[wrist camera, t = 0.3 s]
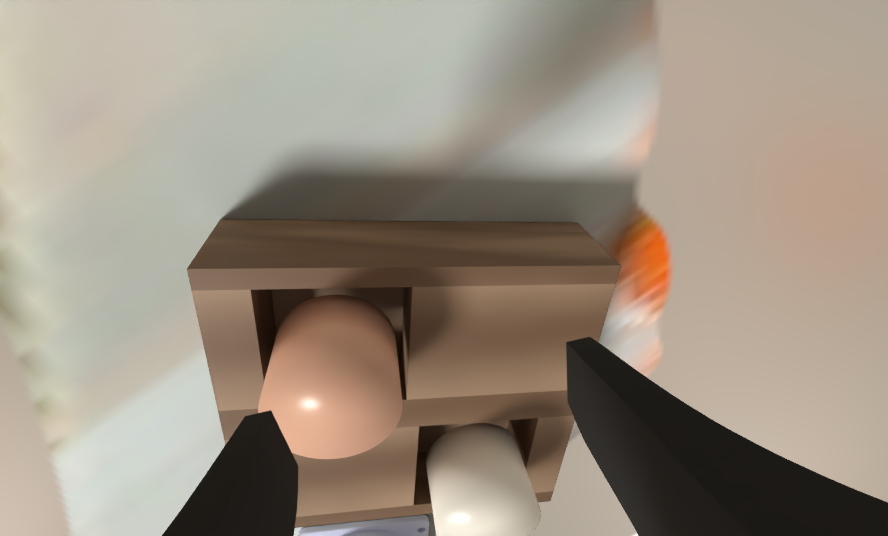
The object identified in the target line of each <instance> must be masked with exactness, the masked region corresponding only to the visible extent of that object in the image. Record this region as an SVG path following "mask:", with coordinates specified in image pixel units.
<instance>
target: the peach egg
mask: <svg viewBox="0 0 888 536" xmlns="http://www.w3.org/2000/svg"><path fill="white" fill-rule="evenodd" d="M402 408H403V406H402V394H401V384H400V375H399V366H398V357H397V347H396V338H395V332H394V329H393V326H392V324H391V322H390V320H389V319H388V317H387V316H386V315H385V314H384V313H383V312H382V311H381V310H380V309H379V308H378V307H376V306H375V305H373V304H372V303H370V302H368V301H366V300H363V299H361V298H358V297H354V296H349V295H337V294H334V295H324V296H319V297H315V298H312V299H309V300H307V301H305V302H303V303H301V304H299V305H298V306H296V307H295V308H294V309H292V310H291V311H290V312H289V313H288V314H287V315H286V316H285V318H284V319H283V320H282V322H281V324H280V326H279V328H278V331H277V334H276V338H275V342H274V346H273V350H272V354H271V358H270V361H269V365H268V369H267V373H266V377H265V381H264V385H263V388H262V392H261V396H260V400H259V405H258V413H261V412H265V411H270V410H271V411H272V413H273V415H274V417H275V419H276V421H277V423H278V425H279V427H280V430H281V432H282V434H283V436H284V438H285V440H286V442H287V444H288V446H289V448H290V450H291V452H292V453H294V454H297V455H300V456H304V457H308V458H315V459H338V458H345V457H350V456H354V455H357V454H360V453H363V452H365V451H368V450H370V449H372V448H373V447H375V446H377V445H378V444H380V443H381V442H383V441H384V440H385V439H386V438H387V437H388V436H389V435H390V434H391V433H392V432H393V431H394V429H395V428H396V426H397V424H398V422H399V420H400V417H401V414H402Z"/></svg>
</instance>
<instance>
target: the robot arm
mask: <svg viewBox="0 0 888 536" xmlns="http://www.w3.org/2000/svg"><path fill="white" fill-rule="evenodd" d="M566 359H567V402H568V404H569V406H570V409H571V411H572V414H573V416H574V418H575V421H576V423H577V425H578V428H579V430H580V432H581V434H582V437H583V439H584V441H585V443H586V444H587V446H588V448H589V450H590V451H591V453H592V455H593V457H594V458H595V460H596V462H597V464H598V465H599V467H600V469H601V471H602V472H603V474H604V476H605V478H606V479H607V481H608V483H609V484H610V486H611V488H612V490H613V491H614V493H615V495H616V496H617V498H618V500H619V502H620V503H621V505H622V507H623V509H624V510H625V512H626V514H627V515H628V517H629V519H630V520H631V522H632V524H633V526H634V528H635V529H636V531H637V533H638V535H639V536H888V503H887V502H885V501H882V500H880V499H877V498H875V497H872V496H870V495H867V494H865V493H862V492H859V491H857V490H855V489H852V488H850V487H848V486H845V485H843V484H841V483H838V482H836V481H834V480H831V479H829V478H826V477H824V476H822V475H820V474H818V473H816V472H813V471H811V470H809V469H807V468H805V467H803V466H800V465H798V464H796V463H794V462H792V461H790V460H787V459H785V458H783V457H781V456H779V455H777V454H775V453H773V452H771V451H769V450H767V449H765V448H763V447H761V446H759V445H757V444H755V443H753V442H751V441H750V440H748V439H746V438H744V437H742V436H740V435H738V434H737V433H735V432H732V431H731V430H729V429H727V428H725V427H724V426H722V425H720V424H718V423H716V422H715V421H713V420H711V419H710V418H708V417H706V416H705V415H703V414H702V413H700V412H698V411H697V410H695V409H693V408H692V407H690V406H689V405H687V404H685V403H684V402H682V401H681V400H679V399H678V398H676V397H675V396H673V395H671V394H670V393H669V392H667V391H666V390H664V389H663V388H661V387H660V386H658V385H657V384H655V383H654V382H652V381H651V380H649V379H648V378H647V377H645V376H644V375H642V374H641V373H639V372H638V371H637V370H635V369H634V368H632V367H631V366H630V365H628V364H627V363H626V362H624V361H623V360H621V359H620V358H619V357H617V356H616V355H615V354H613V353H612V352H611V351H609V350H608V349H607V348H605V347H604V346H602V345H601V344H600V343H598V342H597V341H596V340H594V339H593V338H591V337H586V338H582V339H578V340H573V341H569V342H566ZM297 500H298V464H297V462H296V460H295V458H294V456H293V454H292V452H291V450H290V448H289V446H288V444H287V442H286V440H285V438H284V436H283V434H282V432H281V430H280V427H279V425H278V423H277V421H276V419H275V417H274V415H273V413H272V411H271V410H270V411H265V412H261V413H257V414H252V415H248V416H245V417H244V419H243V420H242V421H241V423H240V424H239V426H238V427H237V429H236V430H235V432H234V433H233V435H232V436H231V438H230V439H229V441H228V442H227V444H226V445H225V447H224V448H223V450H222V451H221V453H220V454H219V456H218V457H217V459H216V460H215V462H214V463H213V465H212V466H211V468H210V469H209V471H208V472H207V473H206V475H205V476H204V478H203V479H202V481H201V482H200V484H199V485H198V487H197V488H196V489H195V491H194V492H193V494H192V495H191V497H190V498H189V499H188V501H187V502H186V504H185V505H184V507H183V508H182V509H181V511H180V512H179V514H178V515H177V516H176V518H175V519H174V520H173V522H172V523H171V524H170V526H169V527H168V528H167V530H166V531H165V532H164V534H163V535H162V536H293V535H294V528H295V521H296V514H297ZM428 532H429V518H428V517H427V516H425V515H417V516H407V517H398V518H388V519H379V520H369V521H360V522H350V523H340V524H331V525H321V526H312V527H305V528H302V529H301V530H300V531H299V534H298V536H428Z"/></svg>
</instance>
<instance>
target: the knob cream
mask: <svg viewBox="0 0 888 536" xmlns="http://www.w3.org/2000/svg"><path fill="white" fill-rule="evenodd" d="M426 468H427V475H428V482H429V489H430V496H431V502H432V509H433V516H434V523H435V530H436V536H530V535H531V534H532V533H533V531H534V530H535V529H536V527H537V526H538V524H539V521H540V517H541V511H540V507H539V504H538V502H537V499H536V496H535V493H534V490H533V488H532V485H531V482H530V479H529V477H528V474H527V471H526V468H525V466H524V463H523V460H522V457H521V455H520V452H519V449H518V446H517V443H516V441H515V439H514V437H513V435H512V434H511V433H510V432H509V431H508V430H506V429H505V428H503V427H501V426H498V425H495V424H489V423H474V424H468V425H464V426H460V427H457V428H455V429H453V430H451V431H449V432H447V433H445V434H444V435H442V436H441V437H440V438H438V439H437V440H436V441H435V442H434V443H433V445H432V446H431V447H430V449H429V451H428V453H427V457H426Z"/></svg>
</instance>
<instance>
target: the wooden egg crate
mask: <svg viewBox="0 0 888 536" xmlns="http://www.w3.org/2000/svg"><path fill="white" fill-rule="evenodd" d="M620 267H621V265H620V264H619V263H618V262H617V261H616V260H615V259H614V258H613V257H612V256H611V255H610V254H609V253H608V252H607V251H606V250H605V249H604V248H603V247H602V246H601V245H600V244H599V243H598V242H597V241H595V240H594V239H593V238H592V237H591V236H590V235H589V234H588V233H587V232H586V231H585V230H584V229H583V228H582V227H581V226H580V225H579V224H578V223H546V222H440V221H335V220H230V219H220V221H219V222H218V224H217V225H216V227H215V228H214V230H213V231H212V233H211V234H210V236H209V237H208V239H207V240H206V241H205V243H204V244H203V246H202V247H201V249H200V250H199V252H198V253H197V255H196V256H195V258H194V259H193V261H192V262H191V264H190V265H189V267H188V268H187V272H188V276H189V281H190V285H191V290H192V294H193V299H194V303H195V308H196V313H197V317H198V322H199V326H200V331H201V335H202V340H203V344H204V349H205V353H206V358H207V363H208V367H209V372H210V376H211V381H212V385H213V390H214V394H215V399H216V403H217V408H218V413H219V417H220V422H221V426H222V431H223V435H224V440H225V444H227V442H228V441H229V439H230V438H231V436H232V435H233V433H234V432H235V430H236V429H237V427H238V426H239V424H240V423H241V421H242V420H243V419H244V417H245V416H248V415H252V414H257V413H258V405H259V400H260V396H261V392H262V388H263V385H264V381H265V377H266V373H267V369H268V365H269V361H270V358H271V354H272V350H273V346H274V342H275V338H276V334H277V331H278V328H279V326H280V324H281V322H282V320H283V319H284V318H285V316H286V315H287V314H288V313H289V312H290V311H291V310H292V309H294V308H295V307H296V306H298V305H299V304H301V303H303V302H305V301H307V300H309V299H312V298H315V297H319V296H324V295H334V294H337V295H349V296H354V297H358V298H361V299H363V300H366V301H368V302H370V303H372V304H373V305H375V306H376V307H378V308H379V309H380V310H381V311H382V312H383V313H384V314H385V315H386V316H387V317H388V319H389V320H390V322H391V324H392V326H393V329H394V332H395V338H396V347H397V357H398V366H399V375H400V384H401V394H402V406H403V408H402V414H401V417H400V420H399V422H398V424H397V426H396V428H395V429H394V431H393V432H392V433H391V434H390V435H389V436H388V437H387V438H386V439H385V440H384V441H383V442H381V443H380V444H378V445H377V446H375V447H373V448H372V449H370V450H368V451H365V452H363V453H360V454H357V455H354V456H350V457H345V458H338V459H315V458H308V457H304V456H300V455H297V454H294V453H292V454H293V456H294V458H295V460H296V462H297V464H298V500H297V514H296V521H295V528H297V527H307V526H316V525H326V524H335V523H345V522H354V521H364V520H373V519H383V518H392V517H402V516H412V515H421V514H431V513H433V509H432V502H431V496H430V489H429V482H428V475H427V468H426V457H427V453H428V451H429V449H430V447H431V446H432V445H433V443H434V442H435V441H436V440H437V439H438V438H440V437H441V436H442V435H444V434H445V433H447V432H449V431H451V430H453V429H455V428H457V427H460V426H464V425H468V424H474V423H489V424H495V425H498V426H501V427H503V428H505V429H506V430H508V431H509V432H510V433H511V434H512V435H513V437H514V439H515V441H516V443H517V446H518V449H519V452H520V455H521V457H522V460H523V463H524V466H525V468H526V471H527V474H528V477H529V479H530V482H531V485H532V488H533V490H534V493H535V496H536V499H537V502H545V501H550V500H551V497H552V493H553V490H554V487H555V483H556V480H557V477H558V473H559V470H560V466H561V463H562V460H563V456H564V453H565V450H566V447H567V444H568V440H569V437H570V434H571V430H572V427H573V424H574V420H575V418H574V416H573V414H572V411H571V409H570V406H569V404H568V402H567V359H566V342H569V341H573V340H578V339H582V338H586V337H591V338H593V339H594V340H596V341H597V342H598V341H599V337H600V334H601V331H602V327H603V324H604V321H605V317H606V314H607V311H608V307H609V304H610V301H611V297H612V294H613V291H614V287H615V284H616V281H617V277H618V274H619V271H620Z"/></svg>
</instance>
